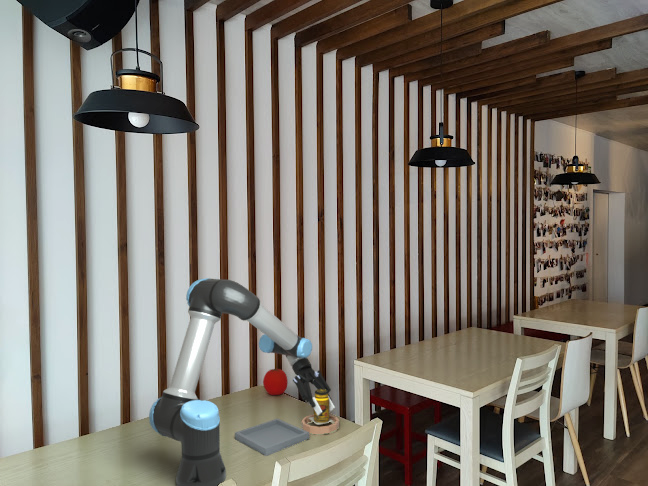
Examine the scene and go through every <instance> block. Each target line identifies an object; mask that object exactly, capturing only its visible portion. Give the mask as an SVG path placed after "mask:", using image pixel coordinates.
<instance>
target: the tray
mask: <svg viewBox="0 0 648 486" xmlns="http://www.w3.org/2000/svg"><path fill="white" fill-rule="evenodd" d="M309 438H310V434H309V432H307V431H305V430H303V429H302V428H300V427H298V426H295V425H294V424H291V423H288V422H286V421H284V420H281V419H279V418H274V419H271V420H268V421H265V422H263V423H262V422H261V423H259V424H256V425H253V426H250V427H247V428H245V429H241V430H238V431H235V432H234V439H235V440H236V441H238V442H239V443H240V444H243V445H245V446H247V448H248V447H249V448H250V449H252V450H254V451H256V452H257V451H258V452H257V453H259V452H260V453H259V454H261V455H263V456H265V457H267V455H268V456H271V455H273V454H275V453H278V452H280V451H282V449H283V450H285V449H287V447H288V448H290V446H291V447H293V446H295V444H296V445H297V443H298V444H300V443H299V442H301V443H303V442H305V441H304V440H306V441H308V440H307V439H309ZM309 440H310V439H309ZM302 441H303V442H302ZM292 445H293V446H292ZM284 448H285V449H284Z"/></svg>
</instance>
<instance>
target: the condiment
mask: <svg viewBox="0 0 648 486" xmlns="http://www.w3.org/2000/svg"><path fill="white" fill-rule="evenodd" d="M328 394H329V393H328V390H326V389H317V388H316V389H315V390H314V397H315V399H316V401H317V403H318V404H319V406H320V408H321V410H322V413H321V414H320V415H319V416H318V415H317V413H316V412H315V410H314V409H313V414H314V417H310V418H309V419H310V420H312V421H313V422H314V424H315V425H323V424H324V425H325V424H328V423H329V422H333V420H331V419H329V414H330V410H329V397H328ZM329 424H330V423H329Z"/></svg>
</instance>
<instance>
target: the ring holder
mask: <svg viewBox="0 0 648 486" xmlns="http://www.w3.org/2000/svg"><path fill="white" fill-rule="evenodd" d="M310 417H314V413H313V414H310V415H307V416H305V417H303V418H302V420H301V429H302V428H303V430H305V431H307V432H309V433H312V434H324V433H330V432H331V431H334V430H336V429H337V428H338V427H339V428H340V419H339V418H338V417H337V416H336V415H334V414H331V413H329V419H331V420H333V422H335V423H334V424H329V425H325V426H315V425H311V424H307V423H308V422H311V421H312V420H310V419H309V418H310Z"/></svg>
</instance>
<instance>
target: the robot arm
mask: <svg viewBox="0 0 648 486" xmlns="http://www.w3.org/2000/svg"><path fill="white" fill-rule="evenodd" d="M185 297H186V298H185V299H186V300H185V301H187V303H186V304H187V306H188V309H187V313H188V315H189V316H190V319H189V322H188V326H187V328H186V331H185V336H184V338H183V341H182V345H181V347H180V351H179V355H178V358H177V361H176V365H175V367H174V371H173V374H172V377H171V381H170V384H169V387H168V388H166V389H164V390H163V391H162V395H161V397H159V398H157V399H156V401H154V402H153V403H152V405H151V407H150V410H149V414H148V420H149V424H150V427H151V429H152V430H153V431H154V432H156V433H158V434H159V435H161V436H162V437H167V438H169V439H173V440H175V441H177V442H179V443H181V447H180V448H181V458H180V462H179V466H178V469H177V473H176V478H175V481H176V486H217V485H218V484H220V483H221V482H222V483H224V481H225V480H226V478H227V472H226V471H227V470H226V465H225V463H224V460H223V458H222V454H221V451H220V450H221V449H220V445H221V444H220V441H221V439H220V436H221V435H220V434H221V433H220V428H221V427H220V419H221V418H220V412H219V408H218V405H216V404H215V403H213V402H212V401H209V400H205V399H204V400H201V399H199V398H198V396H197V395H196V390H197V386H198V383H199V379H200V375H201V372H202V369H203V365H204V362H205V358H206V354H207V351H208V348H209V344H210V341H211V337H212V334H213V330H214V327H215V325H216V324H217V323H218V322H219V321H221V319H222V316H223V315H222V314H227V315H228V314H229V315H231V316H234V317H237V318H238V319H239V320H241V321H243V322H245V321H247V322H248V323H250V324H251V325H252V326H253V327H255V328H256V329H257V330H258V331H260V332H261V333H263V334H262V336H261V337H259V339H258V340H259V341H258V347H259V350H260V351H261V352H262V353H267V354H270V353H271V354H278V355H283V356H285V358H286V359H287V361H288V363H289V365H290V366H291V369H292V371H293V372H294V374H295V375H296V376H294V377H293V379H292V382H293V383H294V384H295V386H296V389H298V393H299V394H300V397H301V399H302V401H303V402H304V401H306V403H309V405H310V406H311V408H313V411H314V410H315V412H316V413H317V415H318V416H319V415H320V414H321V413H322V410H321V408H320V406H319V404H318V403H317V401H316V399H315V396H313V393H312V390H311V386H310V384H311V385H313V386H314V387H315V388H316V390H317V389H326V390H328V397H329V413H330V412H332V411H334V409H335V408H336V406H335V405H334V403H333V400H332V398H331V397H332V396H330V392H331V390H332V389H331V388H330V386H329V384H328V382H326V380H325V378H324V376H323V375H322V372H321V370H317V371H315V370H314V369H313V368H312V364H311V362H310V360H309V356H310V355H311V353H312V350H313V344H312V341H311V340H310V339H308V338H305V337H301V336H299V335H298V334H296V332H294V331H293V330H292V329H291V328H289V326H287V325H286V324H285V323H284V322H283V321H282V320H280V319H279V318H278V317H277V316H276V315H275V314H273V313H272V312H271V311H270V310H268V309H267V308H266V307H265V306H264V305H263V304H262V303H261V300H260V298H259V297H258V296H256V295H255V293H253V292H252V291H250V290H249V289H248V288H247V287H245V286H243V284H241V283H238V282H236V281H235V280H231V279H219V278H210V277H209V278H207V277H206V278H200V279H197V280H196V281H194V282H192V283H191V284H190V286H189V288H188V289H187V292H186V296H185ZM222 483H221V484H222ZM221 484H220V485H221ZM218 486H219V485H218Z"/></svg>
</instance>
